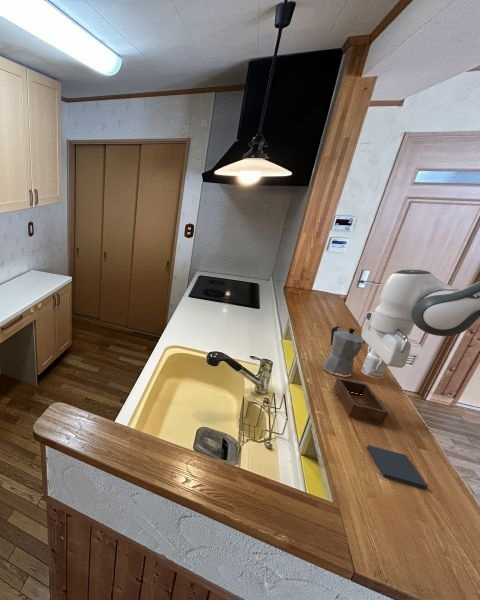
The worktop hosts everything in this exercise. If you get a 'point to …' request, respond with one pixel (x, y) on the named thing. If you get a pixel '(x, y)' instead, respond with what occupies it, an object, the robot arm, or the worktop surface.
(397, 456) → the rubber mat
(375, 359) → the pill bottle
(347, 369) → the coffeepot
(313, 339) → the worktop surface
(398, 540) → the worktop surface
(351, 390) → the storage crate
